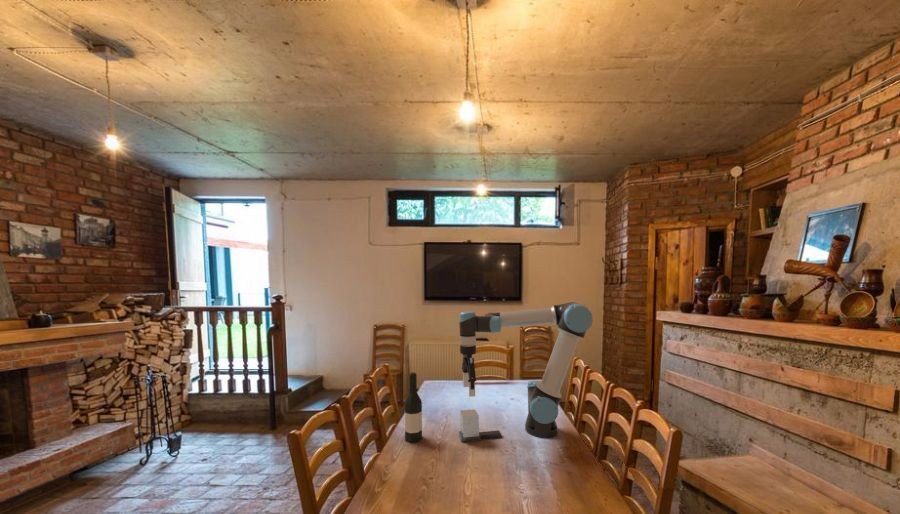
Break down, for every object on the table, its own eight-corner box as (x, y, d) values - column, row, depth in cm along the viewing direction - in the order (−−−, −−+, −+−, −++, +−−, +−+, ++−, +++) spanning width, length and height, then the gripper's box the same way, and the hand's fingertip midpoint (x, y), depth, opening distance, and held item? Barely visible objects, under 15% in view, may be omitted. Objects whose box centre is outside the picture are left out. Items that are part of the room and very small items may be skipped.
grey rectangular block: (475, 428, 155) (475, 409, 155) (479, 436, 148) (478, 415, 148) (460, 430, 154) (460, 410, 154) (463, 437, 147) (462, 416, 147)
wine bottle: (419, 443, 146) (418, 375, 149) (401, 442, 148) (401, 374, 150) (424, 435, 155) (424, 370, 157) (407, 433, 156) (407, 369, 159)
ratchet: (498, 433, 155) (498, 419, 156) (501, 438, 150) (501, 423, 151) (459, 436, 152) (458, 422, 153) (461, 442, 147) (460, 427, 148)
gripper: (455, 340, 165) (456, 383, 164) (465, 350, 141) (466, 401, 139) (470, 339, 166) (471, 382, 165) (482, 349, 142) (483, 400, 140)
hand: (469, 391), depth 152 cm, fingers open, 13 cm apart
